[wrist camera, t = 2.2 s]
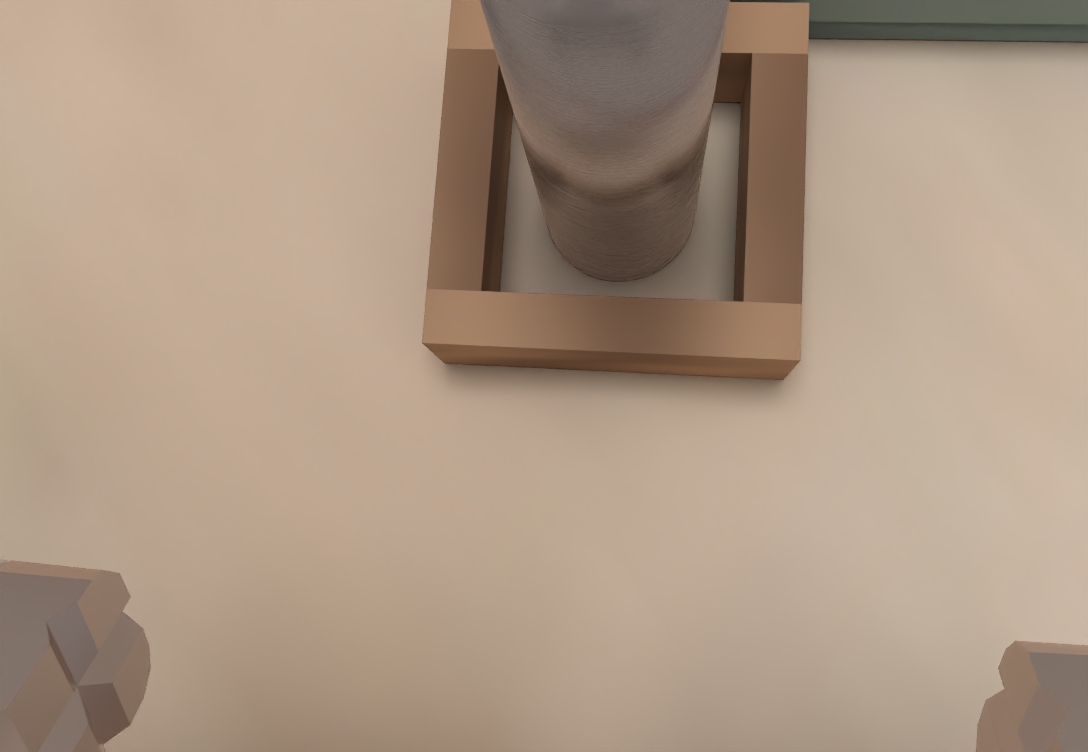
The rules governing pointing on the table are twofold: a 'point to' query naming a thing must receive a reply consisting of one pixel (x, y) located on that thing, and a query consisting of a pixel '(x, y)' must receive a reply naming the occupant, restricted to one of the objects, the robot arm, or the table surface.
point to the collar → (606, 321)
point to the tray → (947, 19)
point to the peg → (612, 120)
